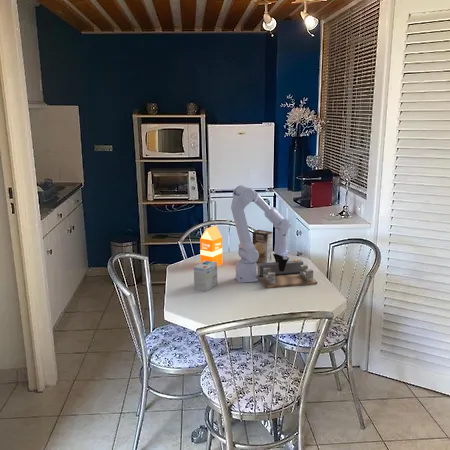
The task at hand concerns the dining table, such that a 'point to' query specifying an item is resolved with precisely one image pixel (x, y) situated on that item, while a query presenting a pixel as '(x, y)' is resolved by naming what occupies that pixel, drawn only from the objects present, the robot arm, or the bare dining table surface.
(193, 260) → the dining table surface
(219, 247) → the orange juice
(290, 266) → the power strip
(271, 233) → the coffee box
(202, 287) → the light bulb box
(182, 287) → the dining table surface
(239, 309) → the dining table surface
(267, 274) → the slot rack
